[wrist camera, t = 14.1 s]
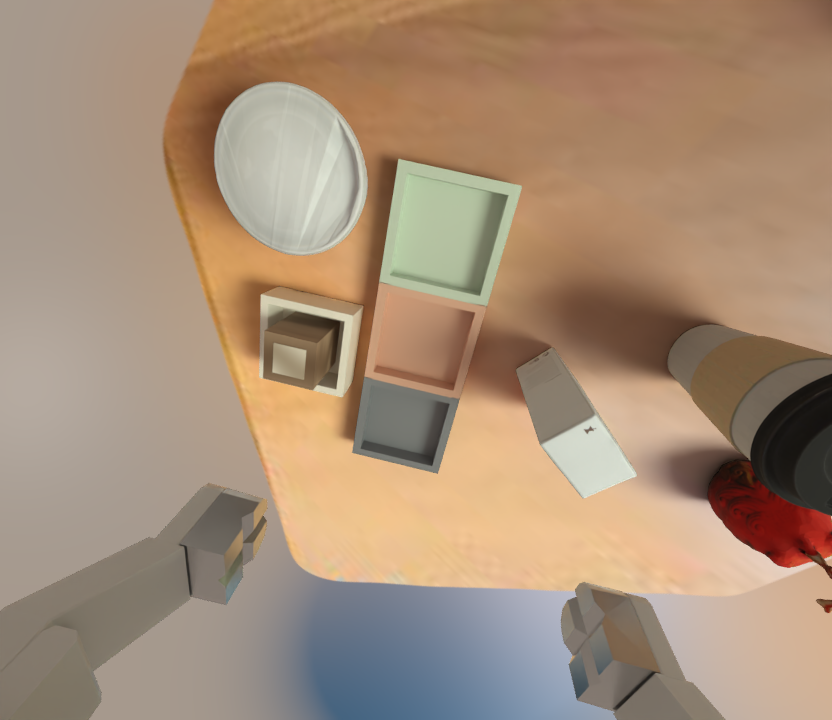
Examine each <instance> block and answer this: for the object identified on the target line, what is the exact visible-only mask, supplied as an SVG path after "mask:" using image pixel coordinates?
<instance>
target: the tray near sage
mask: <svg viewBox="0 0 832 720" xmlns="http://www.w3.org/2000/svg"><path fill="white" fill-rule="evenodd" d="M521 189H522V186H520V185H515V184H511V183H506V182H502V181H497V180H493V179H488V178H483V177H479V176H474V175H470V174H465V173H461V172H456V171H451V170H447V169H442V168H438V167H433V166H429V165H424V164H419V163H415V162H410V161H406V160H401V159H399V160H398V166H397V172H396V179H395V185H394V191H393V198H392V204H391V210H390V217H389V223H388V229H387V236H386V242H385V249H384V255H383V261H382V268H381V274H380V280H379V281H380V282H379V283H382V282H383V283H386V284H388V285H389V284H390V285H392V286H397V287H401V288H402V287H403V288H405V289H410V290H414V291H418V292H423V291H424V292H423V293H427V294H432V295H436V296H440V297H441V296H442V297H445V298H449V299H453V300H458V301H462V302H466V303H471V304H475V305H479V304H480V305H484V306H487V304H488V301H489V298H490V294H491V291H492V287H493V284H494V280H495V277H496V274H497V270H498V267H499V263H500V260H501V257H502V253H503V250H504V246H505V243H506V240H507V236H508V233H509V229H510V226H511V223H512V219H513V216H514V212H515V209H516V206H517V202H518V199H519V195H520V192H521Z"/></svg>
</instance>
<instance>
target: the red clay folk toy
mask: <svg viewBox="0 0 832 720" xmlns="http://www.w3.org/2000/svg"><path fill="white" fill-rule="evenodd" d="M708 500H709V502H710V504H711V508H712V509H713V511H714V512H715V514H716V515H717V516H718V517H719V518H720V519H721V520H722V521H723V523H724V525H725V526H726V528H728V529H729V530H730V531H731V532H732V534H733V535H734V536H735V537H736V538H737V539H739V540H740V541H741V542H743V543H744V544H746V545H748V546H750V547H751V548H752V549H754V550H756V551H758V552H761V553H763V554H765V555H766V556H767V557H769V558H770V559H771V560H772V561H773V562H774V563H775V564H777V565H778V566H782V567H787V568H790V567H796V566H799V565H802V564H805V563H807V562H813V561H814V562H815V563H817V564H819V565H820V566H822V567H823V568H824V569H825V570H826V572H827V574H828V575H829V576H830V578H831V579H832V567H831V566H828V565H827V563H826V562H825V560H824V558H827V557H830V556H832V520H831V516H830V515H827V514H824V513H821V512H819V511H816V510H813V509H808V508H804V507H800V506H797V505H794V504H792V503H790V502H788V501H786V500H784V499H782V498H781V497H780V496H778V495H777V494H775V493H773V492H771V491H770V490H768V489H767V488H766V487H765V486H763V485H762V484H761V482H760V481H759V480H758V479H757V477H756V476H755V474H754V472H753V469H752V466H751V461H750V460H748V461H740V460H734V461H731V462H729V463H727V464H724V465H722V467H721V468H720V471H719V472H718V473H717V474H715V476H714V477H713V480H712V481H711V483H710V484H709V488H708ZM816 601H817V603H819V604H820V605H821V606H822V607H823V608H824V610H825V612H827V613H830V612H831V611H832V600H823V599H817V600H816Z"/></svg>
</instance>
